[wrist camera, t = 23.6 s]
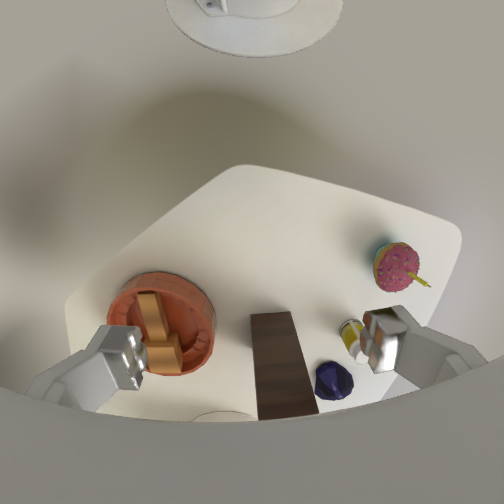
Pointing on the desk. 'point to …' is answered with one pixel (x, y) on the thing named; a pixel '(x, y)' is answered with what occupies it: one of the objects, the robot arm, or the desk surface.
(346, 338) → the supplement bottle
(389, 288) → the cupcake
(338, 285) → the desk surface
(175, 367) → the wooden t-shaped block
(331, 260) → the desk surface
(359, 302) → the desk surface
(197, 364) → the bowl
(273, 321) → the stand
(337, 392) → the computer mouse
